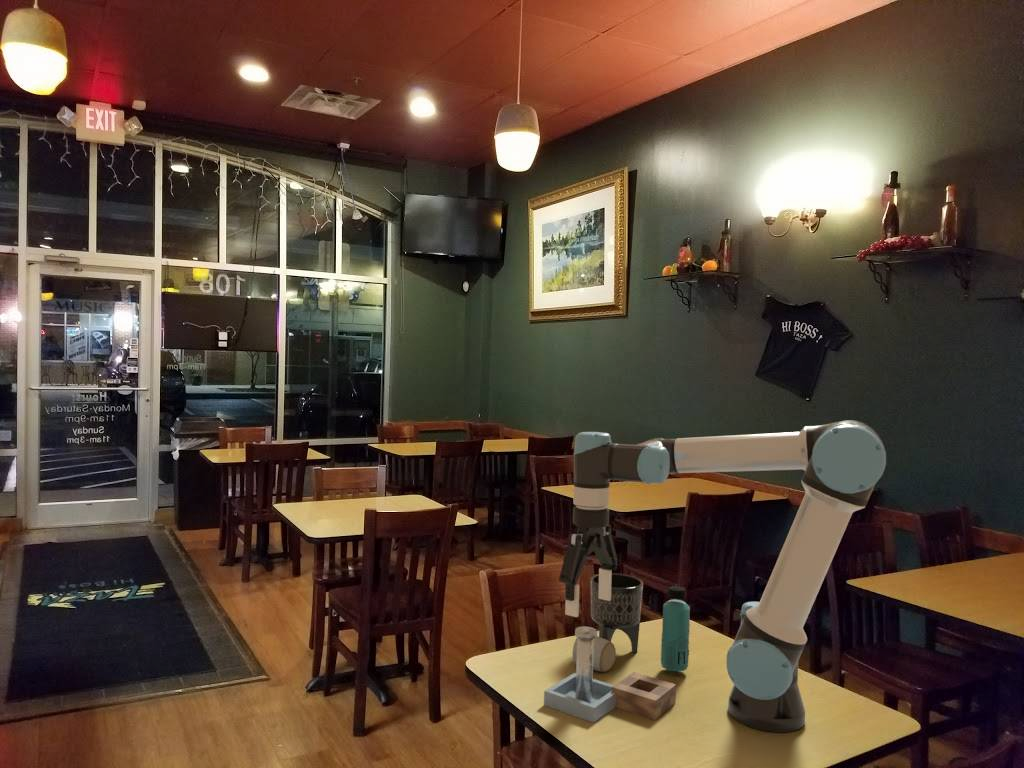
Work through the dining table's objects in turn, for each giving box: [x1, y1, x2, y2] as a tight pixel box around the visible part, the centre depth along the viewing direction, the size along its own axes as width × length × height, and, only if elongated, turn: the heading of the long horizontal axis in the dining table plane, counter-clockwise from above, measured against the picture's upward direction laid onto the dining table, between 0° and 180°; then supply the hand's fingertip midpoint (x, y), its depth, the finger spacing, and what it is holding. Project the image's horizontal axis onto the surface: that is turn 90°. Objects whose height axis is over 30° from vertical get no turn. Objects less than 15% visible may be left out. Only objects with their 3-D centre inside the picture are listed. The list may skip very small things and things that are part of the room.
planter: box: [590, 573, 644, 654], centre depth 191 cm, size 13×13×18 cm
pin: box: [574, 626, 598, 703], centre depth 161 cm, size 5×5×15 cm
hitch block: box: [612, 671, 677, 721], centre depth 162 cm, size 10×10×4 cm
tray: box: [543, 672, 616, 723], centre depth 161 cm, size 12×12×3 cm
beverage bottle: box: [660, 585, 691, 672], centre depth 179 cm, size 6×7×20 cm
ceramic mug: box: [572, 635, 616, 673], centre depth 181 cm, size 11×8×8 cm
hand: (588, 607), depth 160 cm, fingers open, 13 cm apart
